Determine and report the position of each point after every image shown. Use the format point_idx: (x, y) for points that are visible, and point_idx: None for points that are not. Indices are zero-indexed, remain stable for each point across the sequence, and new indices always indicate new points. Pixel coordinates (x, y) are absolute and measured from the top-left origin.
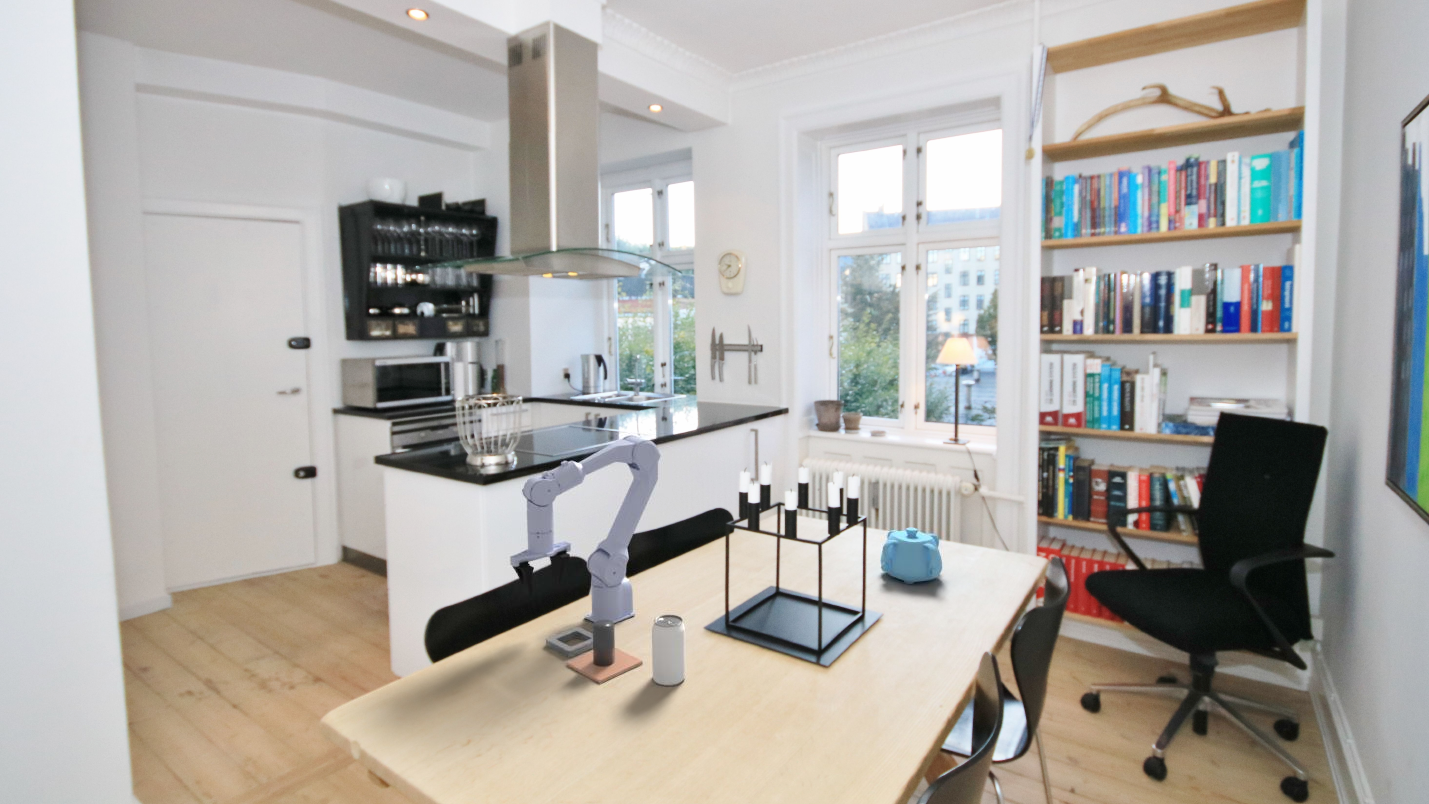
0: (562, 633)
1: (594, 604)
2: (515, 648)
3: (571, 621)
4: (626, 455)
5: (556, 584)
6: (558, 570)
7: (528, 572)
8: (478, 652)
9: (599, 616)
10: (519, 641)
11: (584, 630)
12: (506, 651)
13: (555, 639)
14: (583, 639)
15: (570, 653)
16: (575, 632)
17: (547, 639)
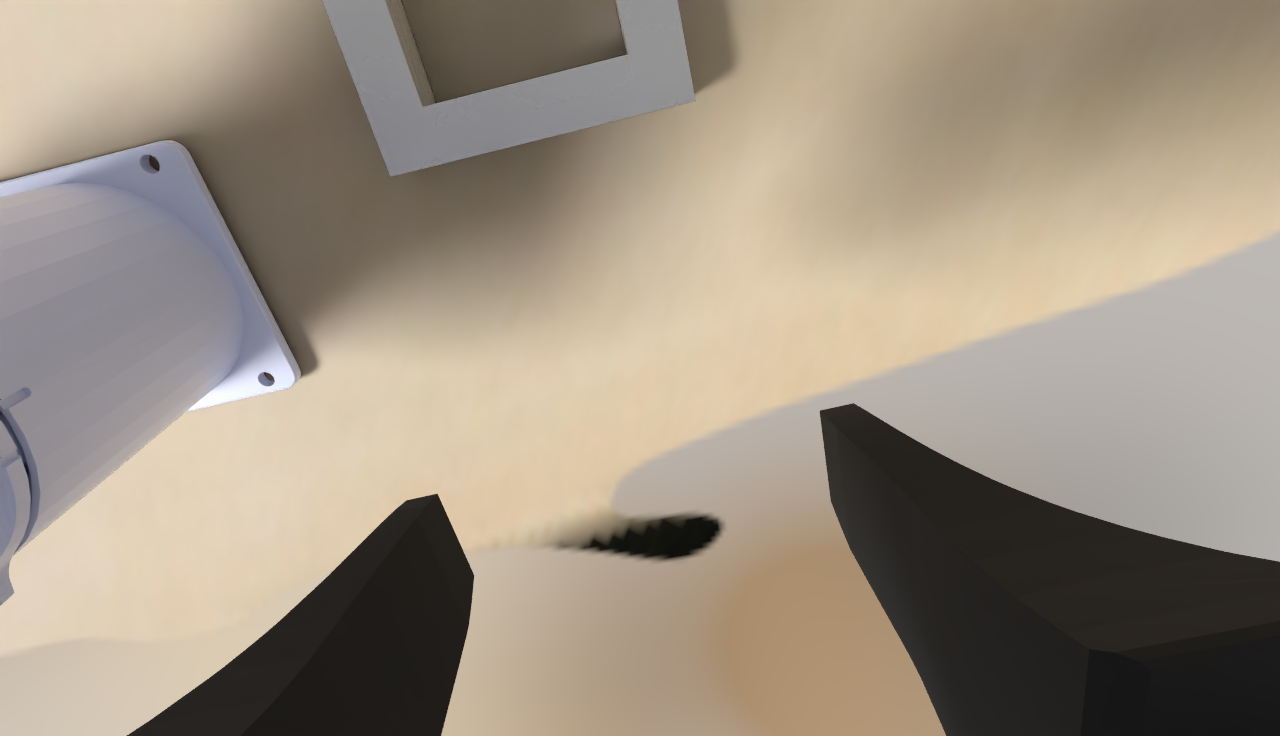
0: (544, 124)
1: (156, 326)
2: (877, 185)
3: (401, 375)
4: None
5: (447, 526)
6: (357, 659)
7: (1160, 568)
8: (1077, 266)
9: (177, 245)
10: (808, 274)
11: (359, 70)
12: (944, 175)
13: (632, 45)
14: (401, 8)
15: None
16: (437, 104)
17: (686, 86)
